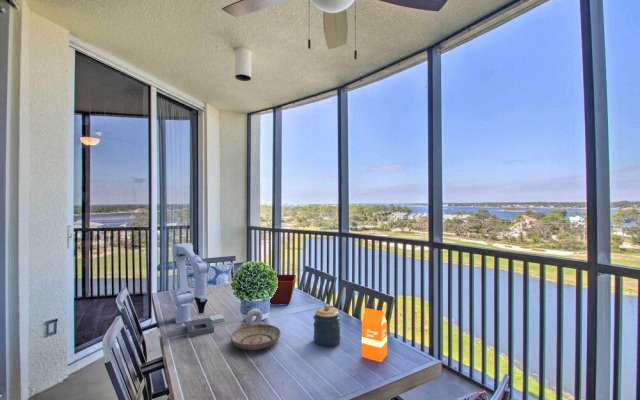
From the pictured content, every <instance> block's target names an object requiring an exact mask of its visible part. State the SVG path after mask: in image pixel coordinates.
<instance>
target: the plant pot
mask: <svg viewBox="0 0 640 400" xmlns="http://www.w3.org/2000/svg"><path fill="white" fill-rule="evenodd" d="M276 275H277V277H278V288H277V290H276V292H275V294H274V295H273V297H272V298H271V299H270V303H271V304H289V305H290V304H291V300H292V297H293V293H294V289H295V283H296V277H297V275H296V274H276ZM270 303H269V304H270Z"/></svg>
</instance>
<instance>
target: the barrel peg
mask: <svg viewBox="0 0 640 400" xmlns="http://www.w3.org/2000/svg"><path fill="white" fill-rule="evenodd" d="M205 315H206V307H205V308H204V312H203V313H200V314H199V311H198V306H197V305H196V316H197V317H202V316H205Z"/></svg>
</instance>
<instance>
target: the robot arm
mask: <svg viewBox="0 0 640 400" xmlns="http://www.w3.org/2000/svg"><path fill="white" fill-rule="evenodd" d="M171 251H172V258H173V259H174V260H175V262H176V263H175V264H176V274H177V277H176V278H177V286H178V287H177V288H176V290H175V291H174V292H173V299H172V301H173V305H174V306H176V317H174V319H175V323H176V324H178V325H179V324H182V323H186V322H187V321H193V319H192V317H191V305H192V303H193V302H194V301H195V304H196V307H197V306H198V311H199V314H200V313H203V312H204V308H205V309H206V304H207V302H208V299H207V298H206V297H207V296H209V295H210V294H209V292H207V286H208V285H207V283H208V282H207V281H208V280H207V279H208V278H207V273H209V270H210V268H209V267H210V265H209V263H208V262H207V261H203V260H202V259H201V258H202V257H200V255H198V254H195V252H194V245H193V244H192V242H186V243H184V242H183V243H174V244H173V245H172V248H171ZM187 258H188V262H189V264H190V265H191V267H192V272H193V278H194V292H193V288H191V287H190V286H188V285H189V283H188V277H187V275H188V273H187V267H186V266H187V265H186V259H187Z"/></svg>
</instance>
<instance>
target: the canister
mask: <svg viewBox="0 0 640 400" xmlns="http://www.w3.org/2000/svg"><path fill="white" fill-rule="evenodd" d="M314 313H315V314H314V315H313V319H314V322H313V342H314V344H315V345H316V346H318V347H321V348H334V347H336V346H338V345H340V343H341V322H340V320H341V316H340V315H339V311H338V310H337V309H336V308H334V307H330V305H329V304H325V305H324V306H323V307H319V308H318V309H317V310H315V312H314Z"/></svg>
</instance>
